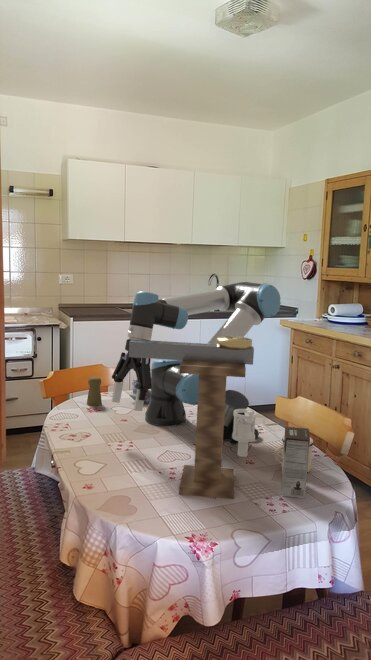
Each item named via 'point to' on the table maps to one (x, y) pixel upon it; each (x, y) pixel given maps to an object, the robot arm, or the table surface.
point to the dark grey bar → (196, 350)
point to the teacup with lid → (282, 453)
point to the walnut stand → (209, 431)
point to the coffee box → (295, 462)
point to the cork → (94, 392)
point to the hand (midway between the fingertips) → (126, 406)
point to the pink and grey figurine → (135, 387)
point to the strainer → (244, 429)
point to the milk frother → (232, 403)
